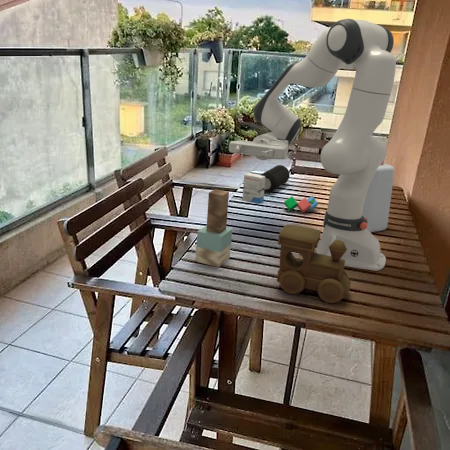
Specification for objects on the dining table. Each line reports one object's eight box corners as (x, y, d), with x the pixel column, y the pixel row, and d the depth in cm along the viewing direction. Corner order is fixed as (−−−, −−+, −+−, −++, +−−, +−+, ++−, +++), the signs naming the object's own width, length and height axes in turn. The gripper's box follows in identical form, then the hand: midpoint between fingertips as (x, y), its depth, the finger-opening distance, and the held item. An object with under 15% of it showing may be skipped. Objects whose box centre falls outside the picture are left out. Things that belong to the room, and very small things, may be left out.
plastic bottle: (335, 221, 180) (346, 153, 170) (363, 217, 187) (375, 151, 177) (362, 235, 168) (376, 161, 158) (391, 230, 174) (406, 160, 165)
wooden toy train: (270, 291, 122) (277, 235, 116) (281, 274, 132) (287, 221, 126) (344, 309, 116) (355, 250, 110) (349, 290, 126) (359, 235, 120)
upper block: (231, 243, 139) (232, 228, 137) (220, 252, 132) (221, 236, 130) (208, 238, 142) (209, 223, 140) (196, 246, 135) (197, 231, 133)
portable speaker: (271, 181, 234) (273, 162, 230) (289, 184, 230) (292, 165, 226) (253, 192, 212) (255, 172, 208) (273, 196, 208) (275, 175, 205)
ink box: (263, 201, 199) (266, 176, 195) (258, 204, 195) (261, 178, 191) (247, 197, 203) (249, 172, 199) (241, 199, 199) (243, 174, 195)
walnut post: (226, 229, 136) (229, 191, 132) (219, 233, 132) (222, 195, 128) (212, 226, 138) (215, 189, 134) (206, 230, 134) (208, 192, 130)
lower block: (229, 258, 141) (230, 243, 139) (218, 267, 134) (219, 252, 132) (207, 252, 144) (207, 238, 142) (195, 261, 137) (196, 246, 135)
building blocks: (295, 221, 191) (318, 205, 192) (295, 215, 184) (318, 199, 184) (284, 207, 194) (307, 191, 194) (283, 201, 186) (307, 184, 186)
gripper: (238, 135, 161) (221, 139, 149) (292, 141, 153) (280, 146, 141) (237, 152, 163) (221, 158, 151) (291, 159, 155) (278, 166, 143)
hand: (250, 152), depth 146 cm, fingers open, 8 cm apart
